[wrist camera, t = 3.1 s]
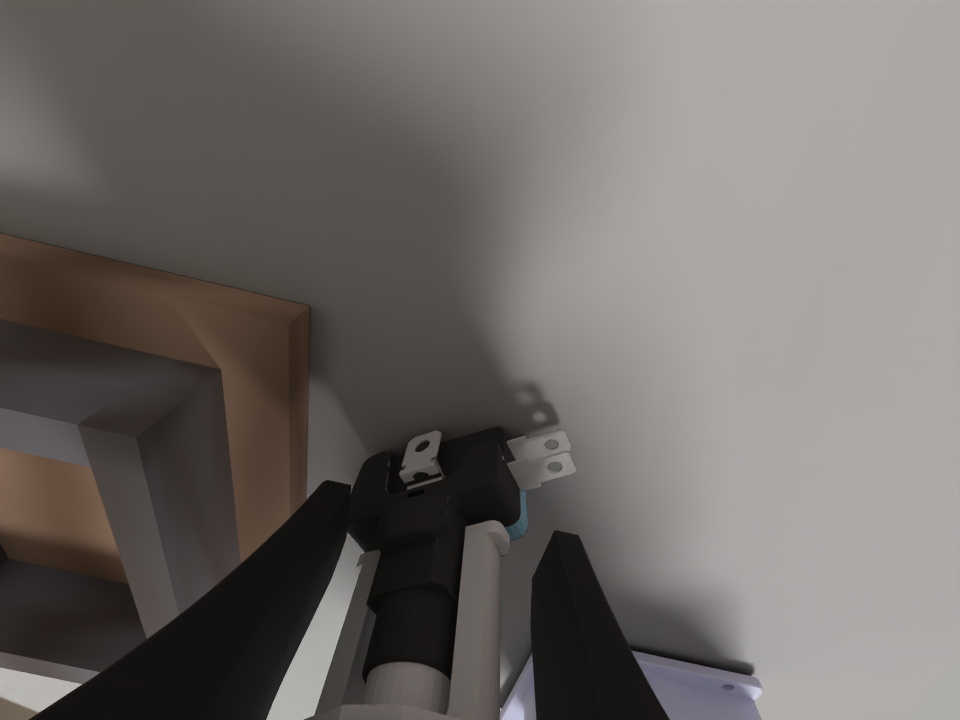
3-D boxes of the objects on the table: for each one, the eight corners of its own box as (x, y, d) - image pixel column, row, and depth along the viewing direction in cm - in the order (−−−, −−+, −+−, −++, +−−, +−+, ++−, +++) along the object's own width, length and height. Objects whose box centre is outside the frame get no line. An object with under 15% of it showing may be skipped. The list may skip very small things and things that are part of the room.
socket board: (310, 305, 11) (215, 385, 8) (303, 627, 19) (255, 739, 16) (-227, 179, 11) (-584, 204, 7) (-9, 561, 19) (-131, 661, 15)
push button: (535, 356, 11) (637, 1118, 3) (592, 488, 14) (746, 1128, 5) (331, 427, 13) (-22, 1052, 4) (413, 535, 15) (292, 1083, 7)
